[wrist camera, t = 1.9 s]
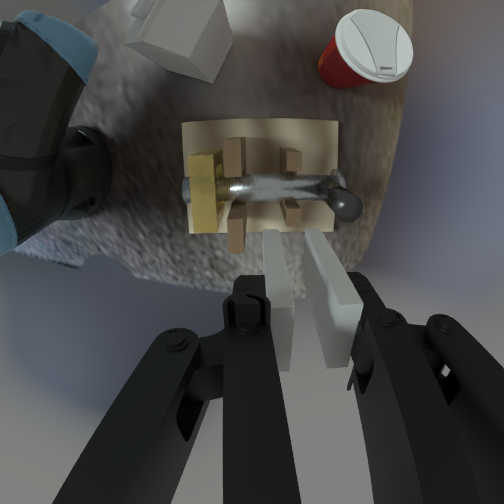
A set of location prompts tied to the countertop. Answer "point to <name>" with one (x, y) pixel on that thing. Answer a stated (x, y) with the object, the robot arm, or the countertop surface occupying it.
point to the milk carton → (182, 35)
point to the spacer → (205, 190)
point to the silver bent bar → (288, 190)
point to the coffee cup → (366, 51)
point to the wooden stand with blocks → (267, 169)
